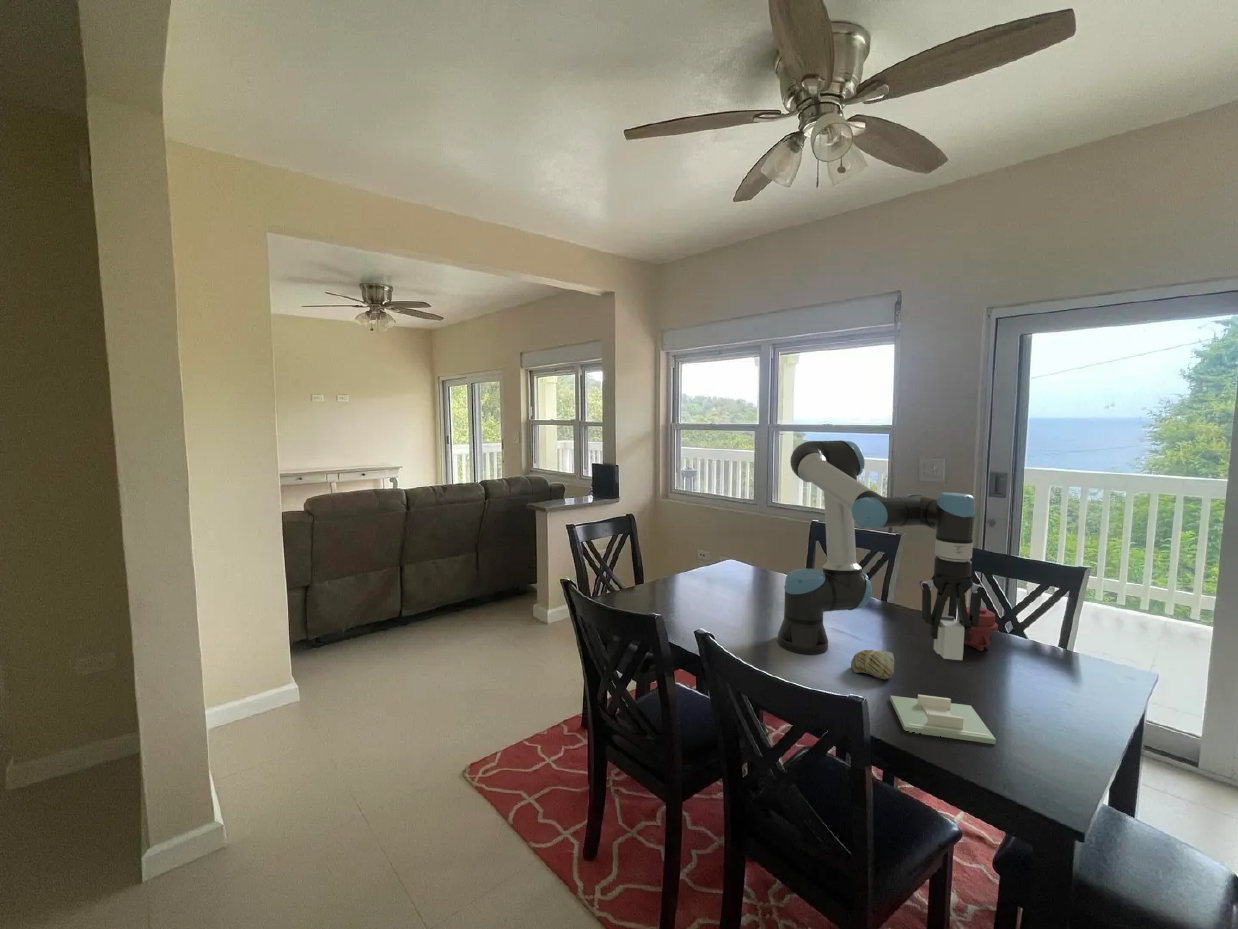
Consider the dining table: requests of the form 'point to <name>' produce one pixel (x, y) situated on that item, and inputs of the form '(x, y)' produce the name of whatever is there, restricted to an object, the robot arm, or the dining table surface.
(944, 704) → the board
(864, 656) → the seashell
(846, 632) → the dining table surface
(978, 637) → the mechanical component
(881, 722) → the dining table surface
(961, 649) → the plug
